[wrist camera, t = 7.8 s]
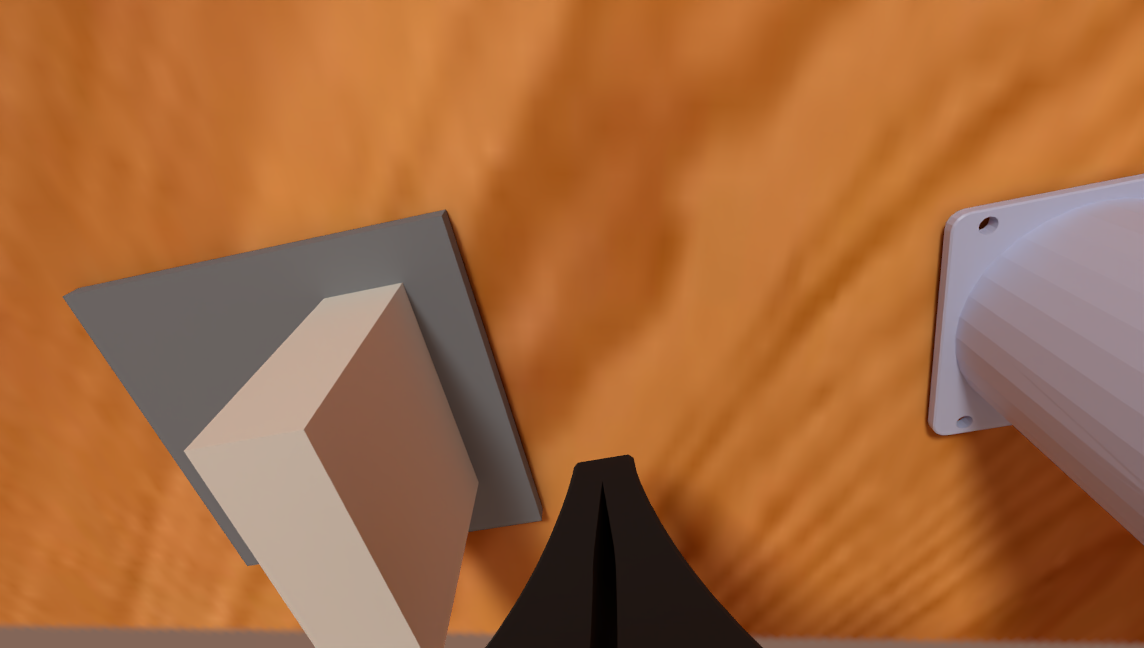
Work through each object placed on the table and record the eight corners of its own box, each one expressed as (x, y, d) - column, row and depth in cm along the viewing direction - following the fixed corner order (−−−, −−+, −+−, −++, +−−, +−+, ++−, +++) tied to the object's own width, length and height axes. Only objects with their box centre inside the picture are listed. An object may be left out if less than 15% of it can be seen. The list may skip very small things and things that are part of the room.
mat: (445, 209, 17) (441, 215, 16) (542, 508, 22) (541, 520, 22) (77, 288, 18) (62, 296, 17) (254, 553, 23) (247, 565, 23)
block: (402, 282, 17) (303, 429, 11) (478, 482, 21) (437, 679, 14) (323, 298, 17) (183, 451, 11) (412, 493, 21) (344, 690, 15)
